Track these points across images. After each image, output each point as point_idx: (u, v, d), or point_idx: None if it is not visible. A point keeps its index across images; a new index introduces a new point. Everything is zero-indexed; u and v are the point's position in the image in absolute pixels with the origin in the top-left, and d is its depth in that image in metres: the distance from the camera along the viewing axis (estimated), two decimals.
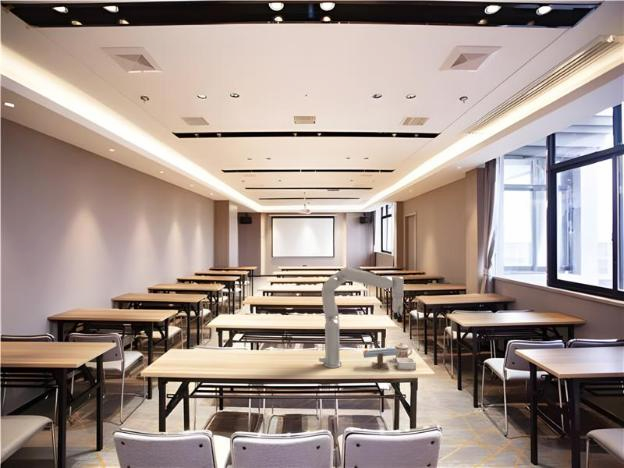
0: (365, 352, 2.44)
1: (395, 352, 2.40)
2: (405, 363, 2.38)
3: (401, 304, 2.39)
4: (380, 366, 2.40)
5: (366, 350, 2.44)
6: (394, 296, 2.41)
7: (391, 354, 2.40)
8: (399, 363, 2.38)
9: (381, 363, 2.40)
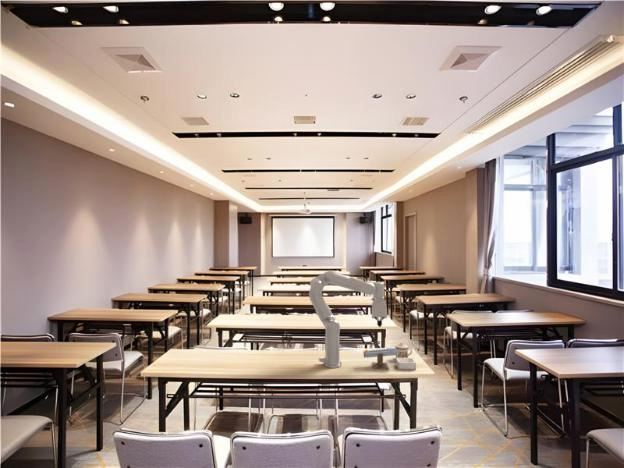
0: (365, 352, 2.44)
1: (395, 352, 2.40)
2: (405, 363, 2.38)
3: None
4: (380, 366, 2.40)
5: (366, 350, 2.44)
6: (382, 301, 2.49)
7: (391, 354, 2.40)
8: (399, 363, 2.38)
9: (381, 363, 2.40)
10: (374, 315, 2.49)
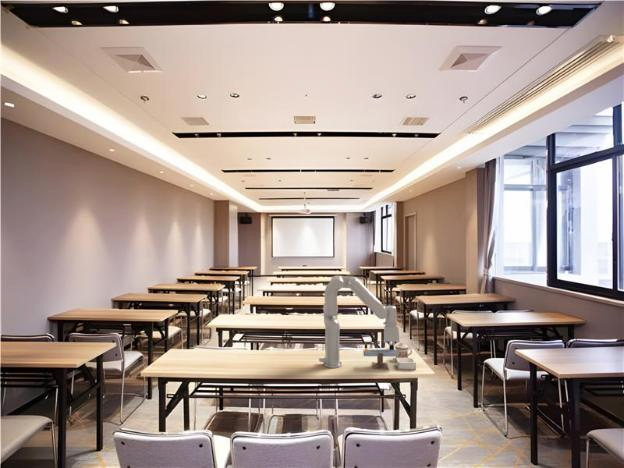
0: (365, 351, 2.44)
1: (395, 353, 2.40)
2: (405, 363, 2.38)
3: None
4: (380, 366, 2.40)
5: (366, 349, 2.44)
6: (395, 325, 2.46)
7: (391, 355, 2.40)
8: (399, 363, 2.38)
9: (381, 363, 2.40)
10: (386, 339, 2.47)
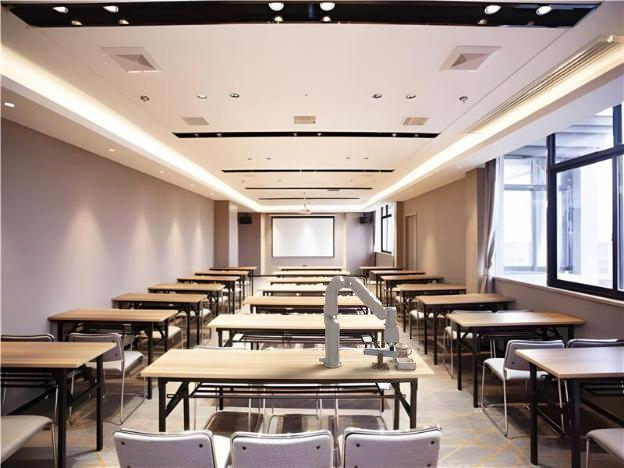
0: None
1: (395, 355, 2.40)
2: (405, 363, 2.38)
3: None
4: (380, 366, 2.40)
5: None
6: (395, 327, 2.46)
7: (391, 356, 2.40)
8: (399, 363, 2.38)
9: (381, 363, 2.40)
10: (386, 341, 2.47)
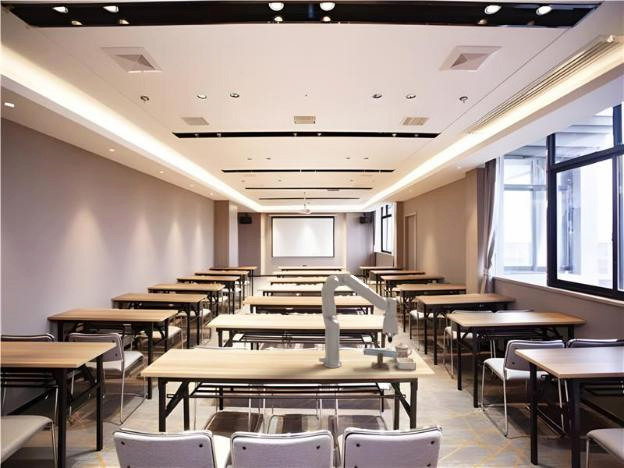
0: None
1: (395, 355, 2.40)
2: (405, 363, 2.38)
3: None
4: (380, 366, 2.40)
5: None
6: (394, 317, 2.46)
7: (391, 356, 2.40)
8: (399, 363, 2.38)
9: (381, 363, 2.40)
10: (385, 331, 2.47)
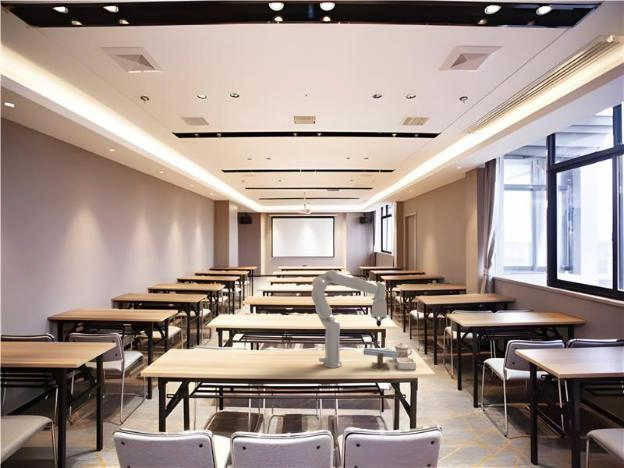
0: None
1: (395, 355, 2.40)
2: (405, 363, 2.38)
3: None
4: (380, 366, 2.40)
5: None
6: (383, 301, 2.51)
7: (391, 356, 2.40)
8: (399, 363, 2.38)
9: (381, 363, 2.40)
10: (374, 314, 2.51)
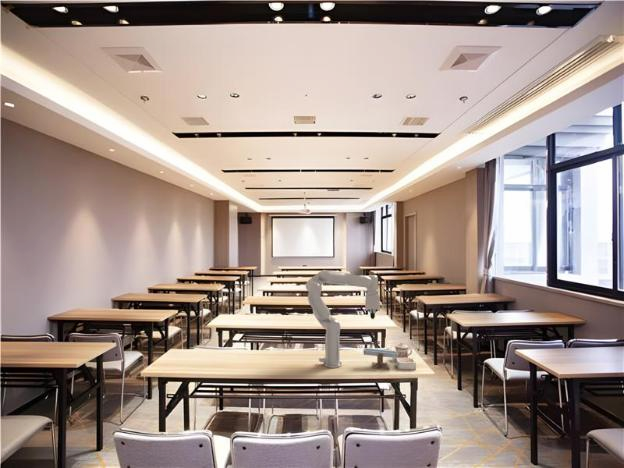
0: None
1: (395, 355, 2.40)
2: (405, 363, 2.38)
3: None
4: (380, 366, 2.40)
5: None
6: (376, 294, 2.54)
7: (391, 356, 2.40)
8: (399, 363, 2.38)
9: (381, 363, 2.40)
10: (367, 307, 2.54)
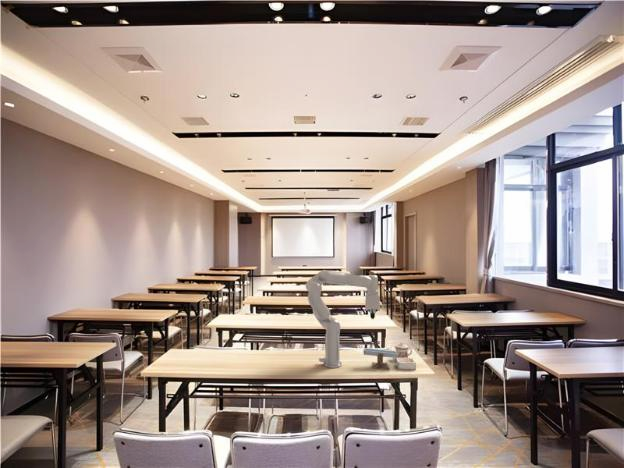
0: None
1: (395, 355, 2.40)
2: (405, 363, 2.38)
3: None
4: (380, 366, 2.40)
5: None
6: (376, 294, 2.54)
7: (391, 356, 2.40)
8: (399, 363, 2.38)
9: (381, 363, 2.40)
10: (367, 307, 2.54)
